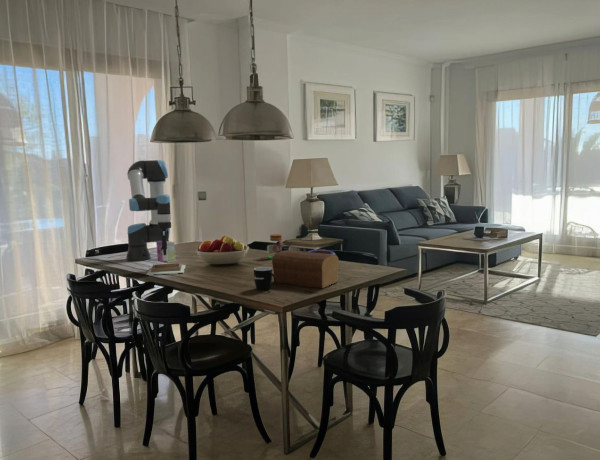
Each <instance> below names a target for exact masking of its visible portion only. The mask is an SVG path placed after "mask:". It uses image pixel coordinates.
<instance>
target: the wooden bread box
mask: <svg viewBox="0 0 600 460" xmlns="http://www.w3.org/2000/svg"><path fill="white" fill-rule="evenodd" d="M272 256H273V258H272V259H271V264H272V265H271V266H272V273H273V274H274V275H275V277H276V282H275V283H277V284H284V285H285V284H286V285H291V286H292V285H293V286H300V287H307V288H317V289H325V288H327V287H329V285H330V286H332V285H335V284H337V283H338V272H339V263H340V262H339V257H338V256H337V254H336V255H332V254H323V253H312V252H308V251H301V250H290V249H289V250H288V249H287V250H282V251H281V252H278V253H277V254H275V253H274V255H272ZM336 282H337V283H336ZM334 283H335V284H334ZM331 284H332V285H331Z"/></svg>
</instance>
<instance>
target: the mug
mask: <svg viewBox="0 0 600 460" xmlns="http://www.w3.org/2000/svg"><path fill="white" fill-rule="evenodd" d="M253 277H254V278H253V280H254V283H255V285H254V286H255V289H256V290H257V291H268V290H270V289H271V287H272V286H274V285H275V284H276V283H277V282H276V277H275V275H274V273H273V267H269V266H260V267H259V266H258V267H254V268H253ZM272 280H273V282H272Z"/></svg>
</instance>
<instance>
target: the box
mask: <svg viewBox="0 0 600 460" xmlns="http://www.w3.org/2000/svg"><path fill="white" fill-rule="evenodd" d="M155 243H156V257H157V262H158V263H159V262H160V263H163V264H172V263H177V262H176V246H175V241H170V240H169V241H167V253H168V261H163V253H162V250H161V248H162V241H158V242H155Z"/></svg>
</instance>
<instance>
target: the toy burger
mask: <svg viewBox="0 0 600 460" xmlns="http://www.w3.org/2000/svg"><path fill="white" fill-rule="evenodd" d="M269 236H270V239H269V240H270V242H271V241H272V242H276V243H275V244H268V245H267V246H266V252H267V253H266V254H267V255H269V254H274V255H275V254H277V253H278V252H281V251H283V247H284V243H283V242H282V240H283V239H282V238H283V236H282V234H280V233H279V234H277V233H276V234H275V233H274V234H270V235H269ZM274 255H270V256H268V259H271V260H272V258H273V256H274Z"/></svg>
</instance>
